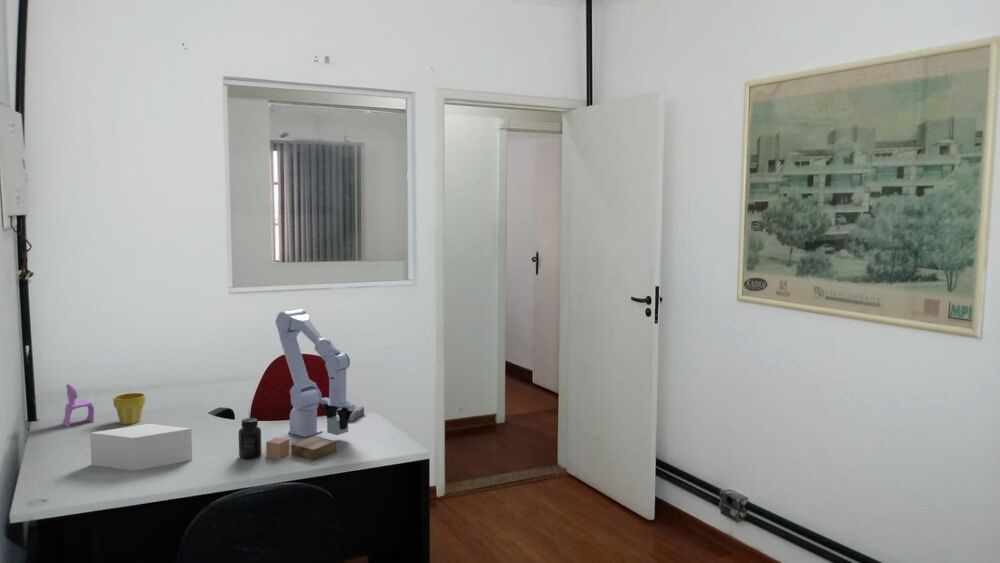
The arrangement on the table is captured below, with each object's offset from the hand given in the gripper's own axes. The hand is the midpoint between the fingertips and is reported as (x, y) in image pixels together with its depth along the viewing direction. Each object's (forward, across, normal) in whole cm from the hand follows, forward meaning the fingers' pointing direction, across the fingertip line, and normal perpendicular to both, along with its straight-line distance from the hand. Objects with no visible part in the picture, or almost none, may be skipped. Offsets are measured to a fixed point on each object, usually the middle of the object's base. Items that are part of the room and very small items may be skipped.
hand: (337, 427), depth 240 cm
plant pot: (+5, -77, -31) cm, 83 cm away
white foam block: (+5, -32, -51) cm, 60 cm away
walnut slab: (+5, +4, -14) cm, 15 cm away
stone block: (+5, -18, +22) cm, 29 cm away
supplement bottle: (+5, -10, -28) cm, 30 cm away
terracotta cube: (+5, -4, -22) cm, 23 cm away
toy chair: (+5, -90, -43) cm, 100 cm away
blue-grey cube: (+2, 0, 0) cm, 2 cm away
